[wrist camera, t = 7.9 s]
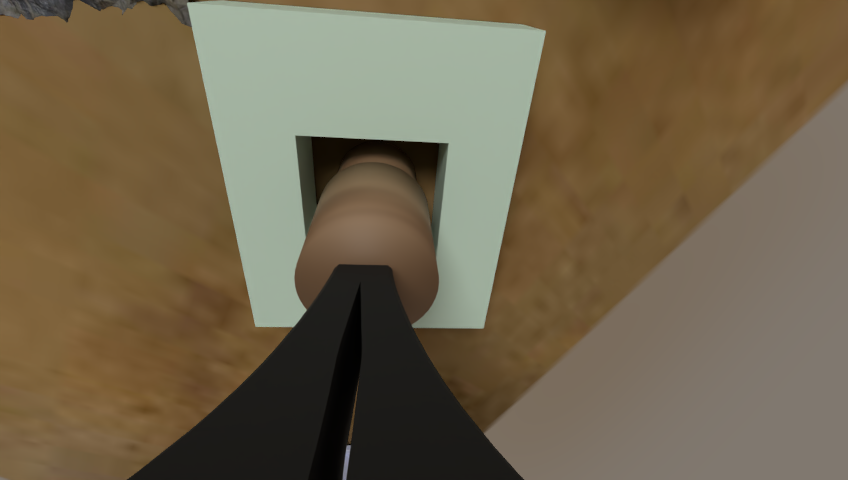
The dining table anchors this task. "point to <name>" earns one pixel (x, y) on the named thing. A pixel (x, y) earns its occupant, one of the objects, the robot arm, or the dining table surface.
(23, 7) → the driftwood
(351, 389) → the robot arm
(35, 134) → the dining table surface
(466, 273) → the board
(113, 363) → the dining table surface
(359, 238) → the peg
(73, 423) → the dining table surface
